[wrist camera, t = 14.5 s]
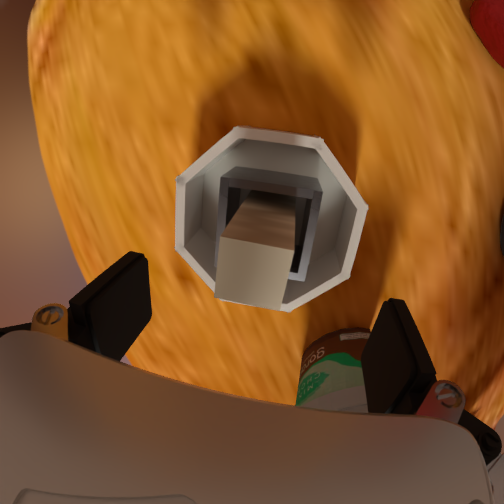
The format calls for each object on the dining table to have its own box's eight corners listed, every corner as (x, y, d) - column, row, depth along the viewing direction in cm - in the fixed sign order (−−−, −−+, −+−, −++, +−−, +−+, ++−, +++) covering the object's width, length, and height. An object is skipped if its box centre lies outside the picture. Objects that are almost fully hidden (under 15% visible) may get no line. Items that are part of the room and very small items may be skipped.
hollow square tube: (317, 178, 19) (323, 191, 15) (303, 252, 21) (304, 281, 17) (235, 165, 19) (220, 176, 15) (229, 240, 21) (214, 266, 18)
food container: (312, 302, 24) (314, 397, 15) (376, 316, 23) (401, 406, 14) (275, 387, 29) (264, 466, 20) (327, 396, 29) (327, 473, 20)
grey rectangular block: (295, 196, 19) (294, 250, 11) (287, 235, 21) (279, 310, 13) (252, 188, 20) (219, 236, 11) (246, 227, 21) (214, 297, 13)
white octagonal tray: (362, 144, 18) (381, 150, 14) (331, 285, 23) (336, 319, 19) (202, 122, 19) (178, 122, 15) (195, 263, 24) (175, 292, 20)
